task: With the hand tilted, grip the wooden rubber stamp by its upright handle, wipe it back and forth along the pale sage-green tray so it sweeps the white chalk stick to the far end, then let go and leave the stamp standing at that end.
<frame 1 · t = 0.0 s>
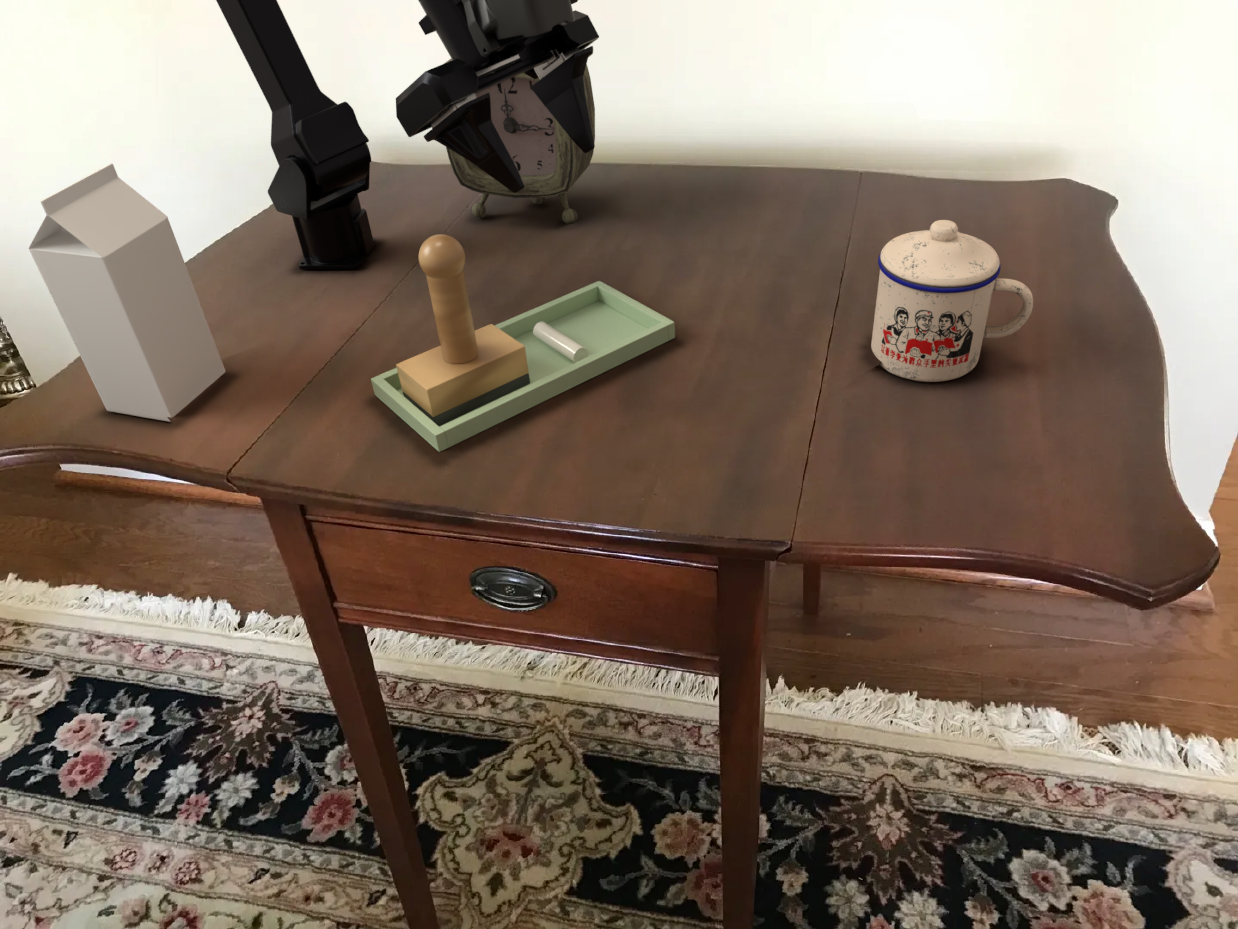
hand: (556, 169, 77), 15 cm above the table, tool tilted 35°, fingers open, 9 cm apart
milk carton: (170, 397, 82), on the table
teacup with lid: (941, 358, 80), on the table
wooden rubber stamp: (468, 392, 78), point 1 cm above the table, touching tray
chalk: (561, 349, 83), point 1 cm above the table, touching tray
tabletop clock: (533, 212, 108), on the table
tray: (529, 372, 81), on the table
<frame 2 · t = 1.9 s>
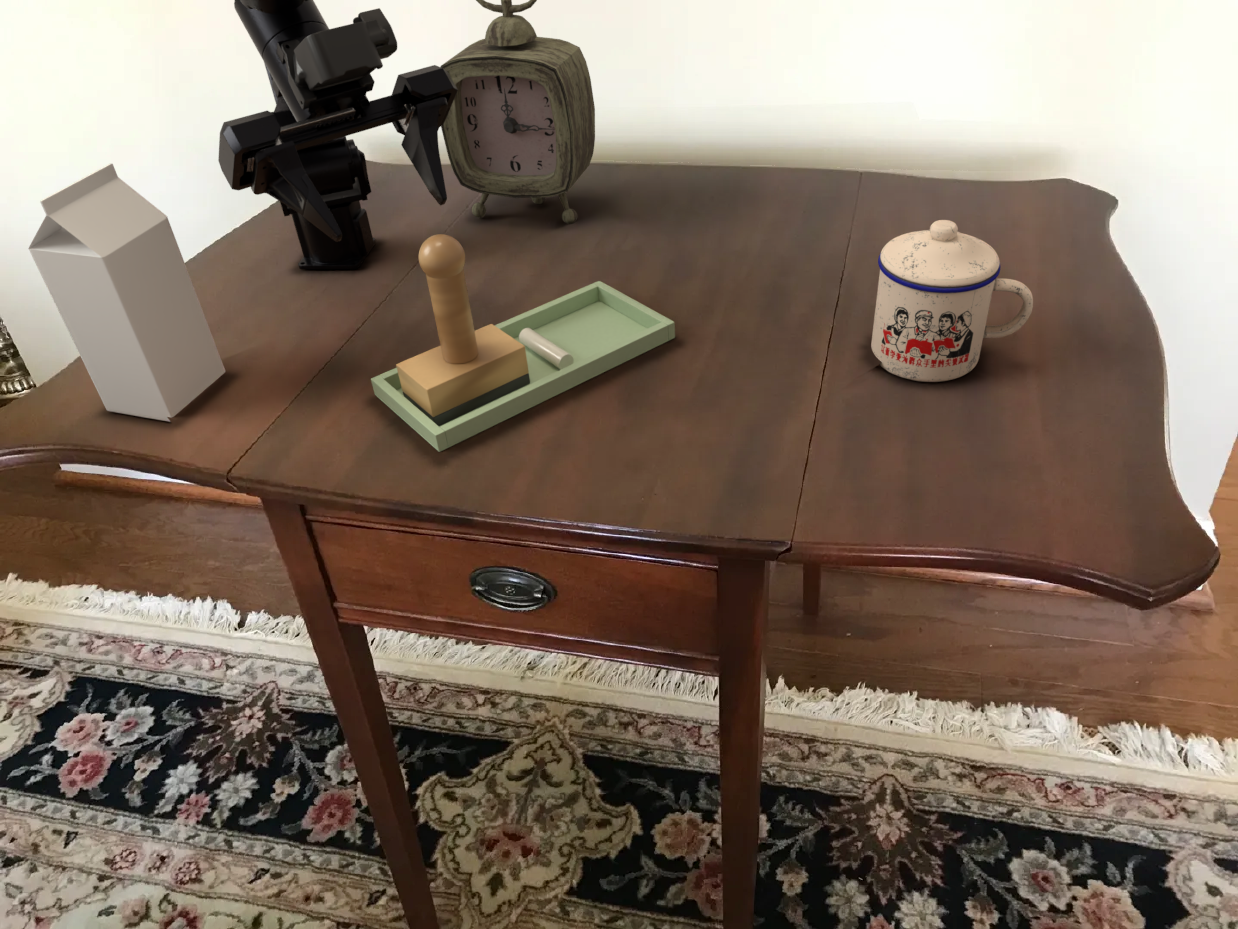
hand: (393, 220, 75), 13 cm above the table, tool tilted 45°, fingers open, 9 cm apart
chalk: (551, 342, 81), point 2 cm above the table, tilted 116°, touching tray
everything else where it was.
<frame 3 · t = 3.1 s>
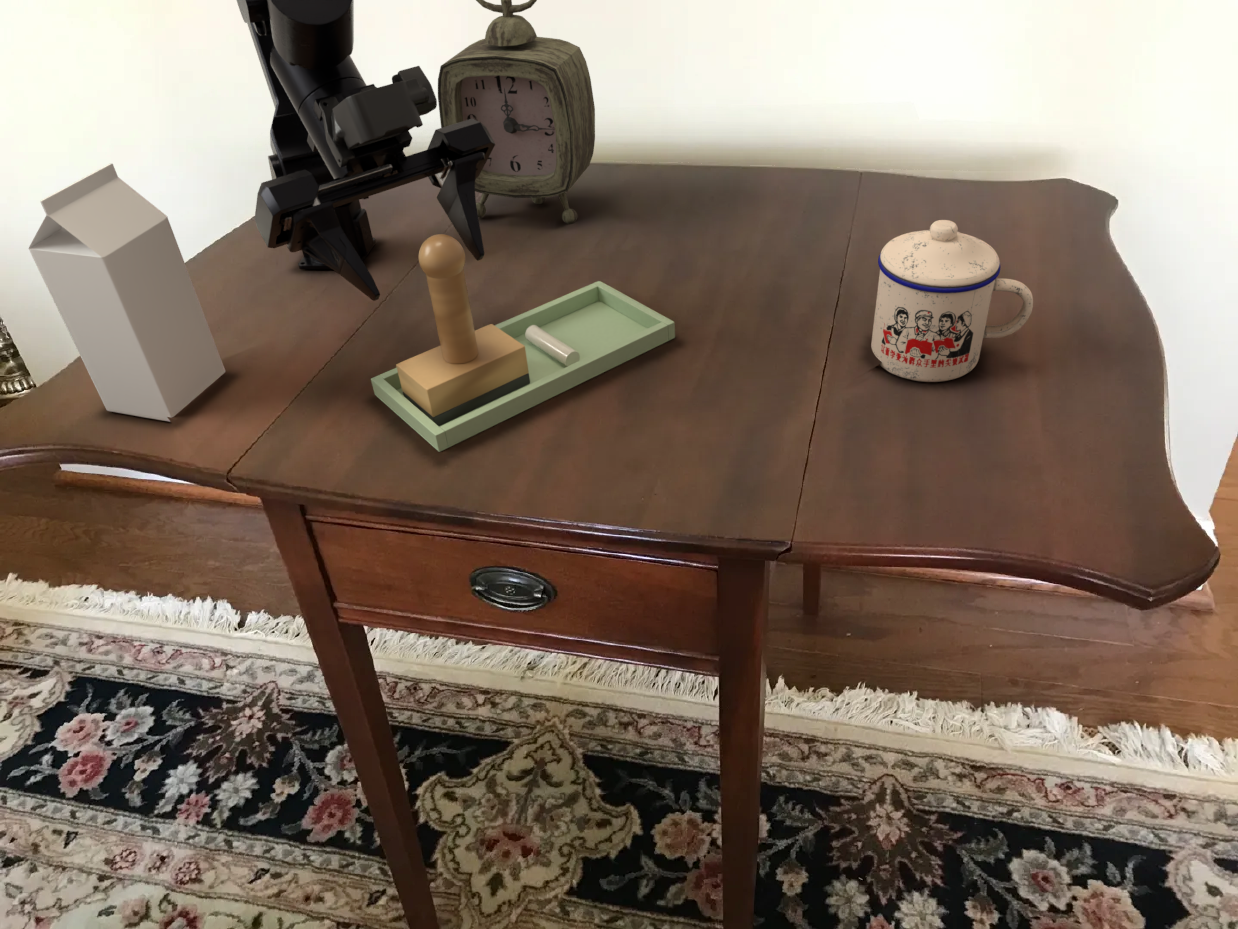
hand: (430, 277, 74), 10 cm above the table, tool tilted 45°, fingers open, 9 cm apart
chalk: (558, 345, 82), point 1 cm above the table, tilted 66°, touching tray
everything else where it was.
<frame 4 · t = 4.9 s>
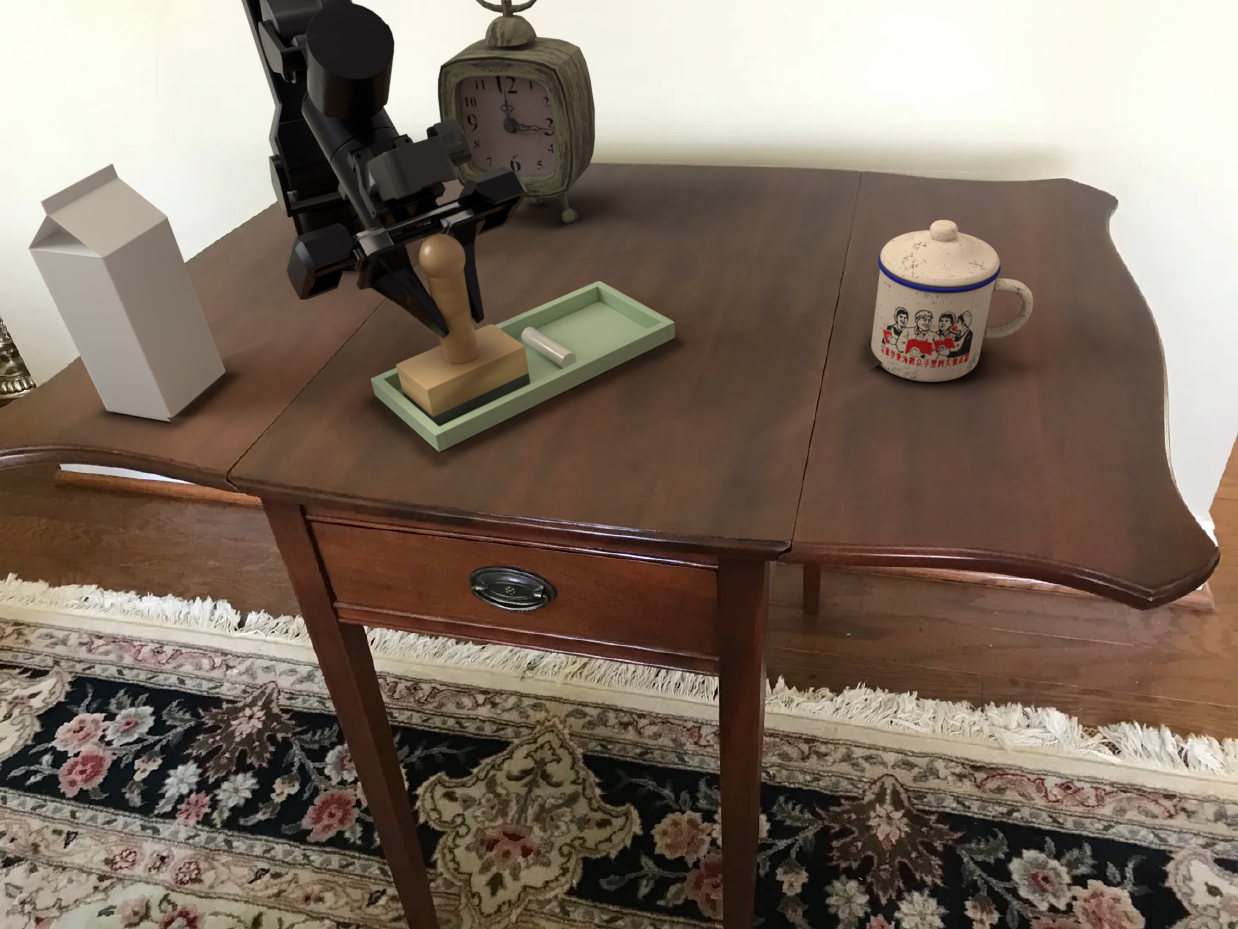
hand: (463, 328, 73), 7 cm above the table, tool tilted 45°, fingers closed on wooden rubber stamp, 3 cm apart
wooden rubber stamp: (468, 392, 78), point 1 cm above the table, touching gripper, tray
chalk: (555, 343, 82), point 2 cm above the table, tilted 96°, touching tray
everything else where it was.
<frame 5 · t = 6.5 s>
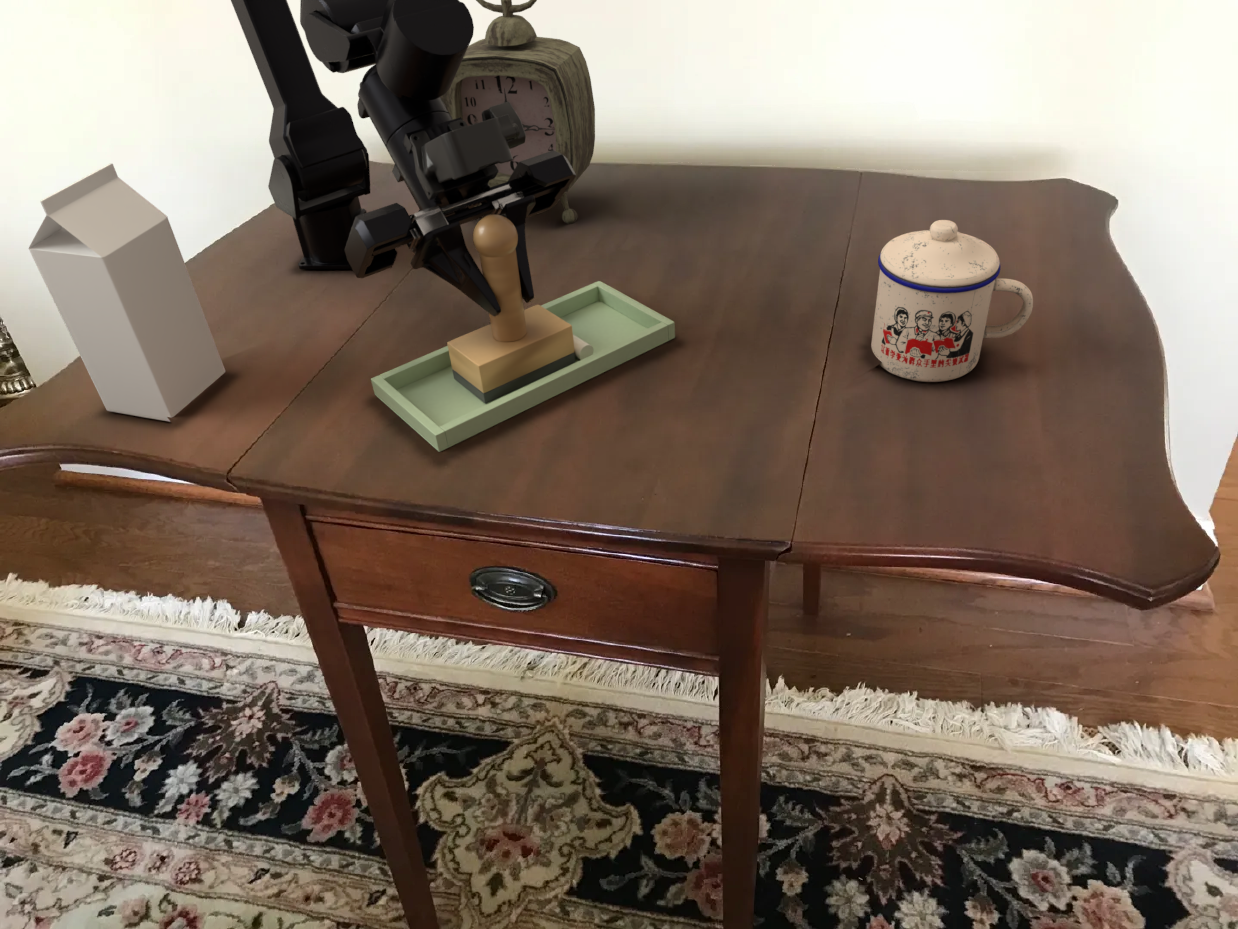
hand: (514, 307, 75), 7 cm above the table, tool tilted 45°, fingers closed on wooden rubber stamp, 3 cm apart
wooden rubber stamp: (515, 370, 80), point 1 cm above the table, touching gripper
chalk: (561, 347, 82), point 1 cm above the table, tilted 44°, touching tray
everything else where it was.
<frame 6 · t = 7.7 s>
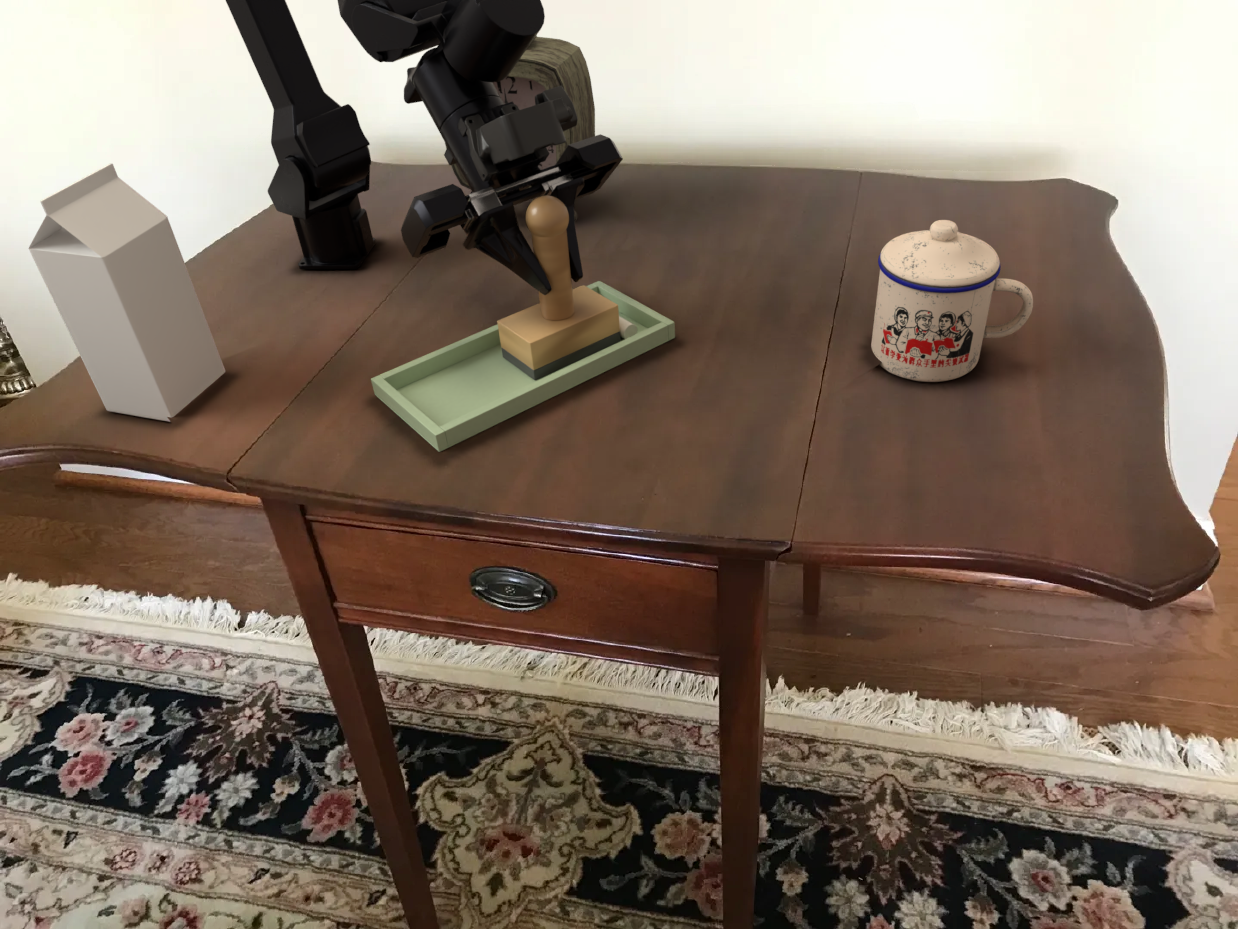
hand: (563, 286, 78), 7 cm above the table, tool tilted 45°, fingers closed on wooden rubber stamp, 3 cm apart
wooden rubber stamp: (562, 349, 83), point 1 cm above the table, touching gripper
chalk: (604, 327, 85), point 1 cm above the table, tilted 47°, touching tray
everything else where it was.
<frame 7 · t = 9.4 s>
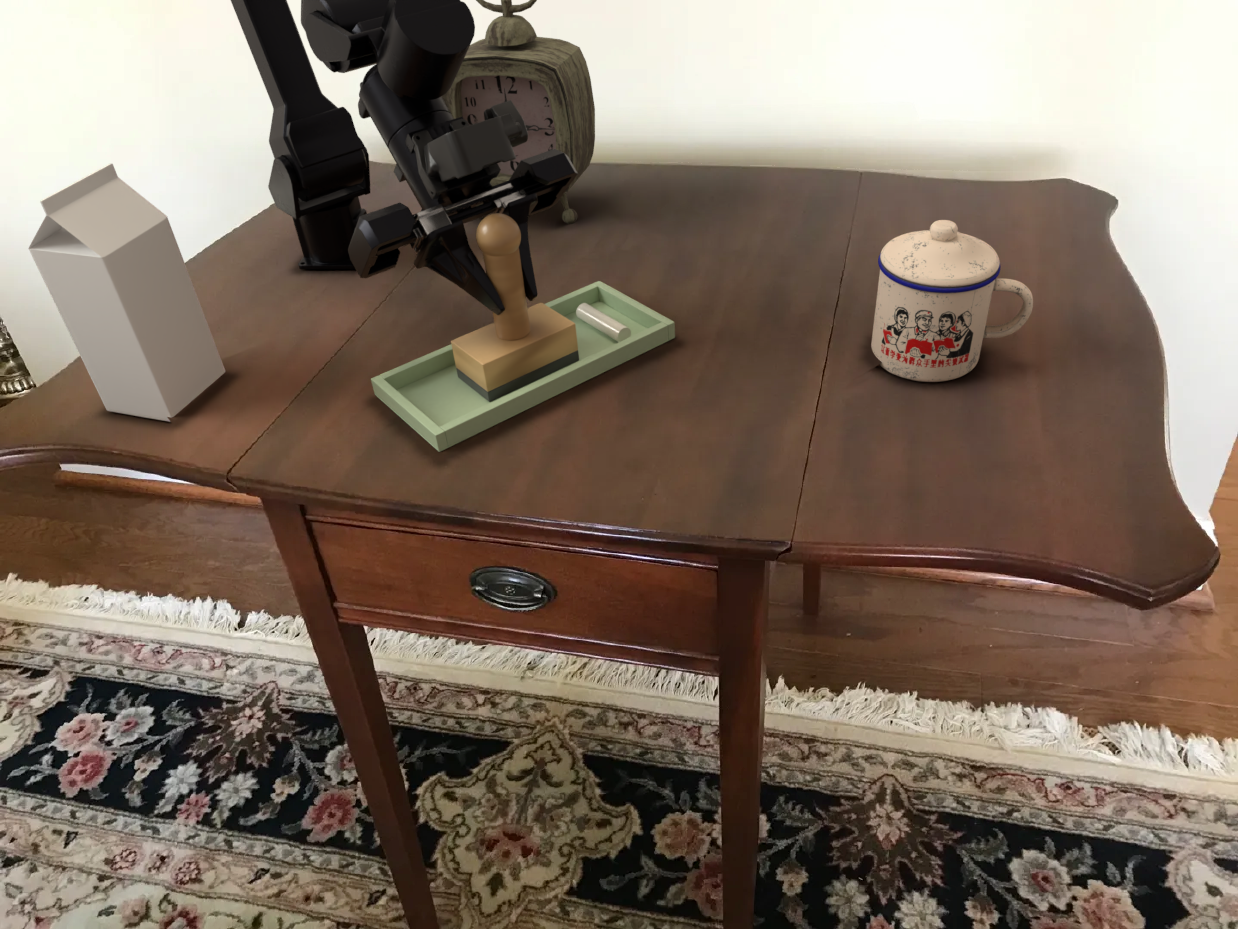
hand: (517, 305, 75), 7 cm above the table, tool tilted 45°, fingers closed on wooden rubber stamp, 3 cm apart
wooden rubber stamp: (519, 368, 80), point 1 cm above the table, touching gripper
chalk: (604, 329, 85), point 1 cm above the table, tilted 6°, touching tray
everything else where it was.
when the fingers open (7 cm above the table, at t = 13.0 s): wooden rubber stamp stays where it is, resting on chalk, tray.
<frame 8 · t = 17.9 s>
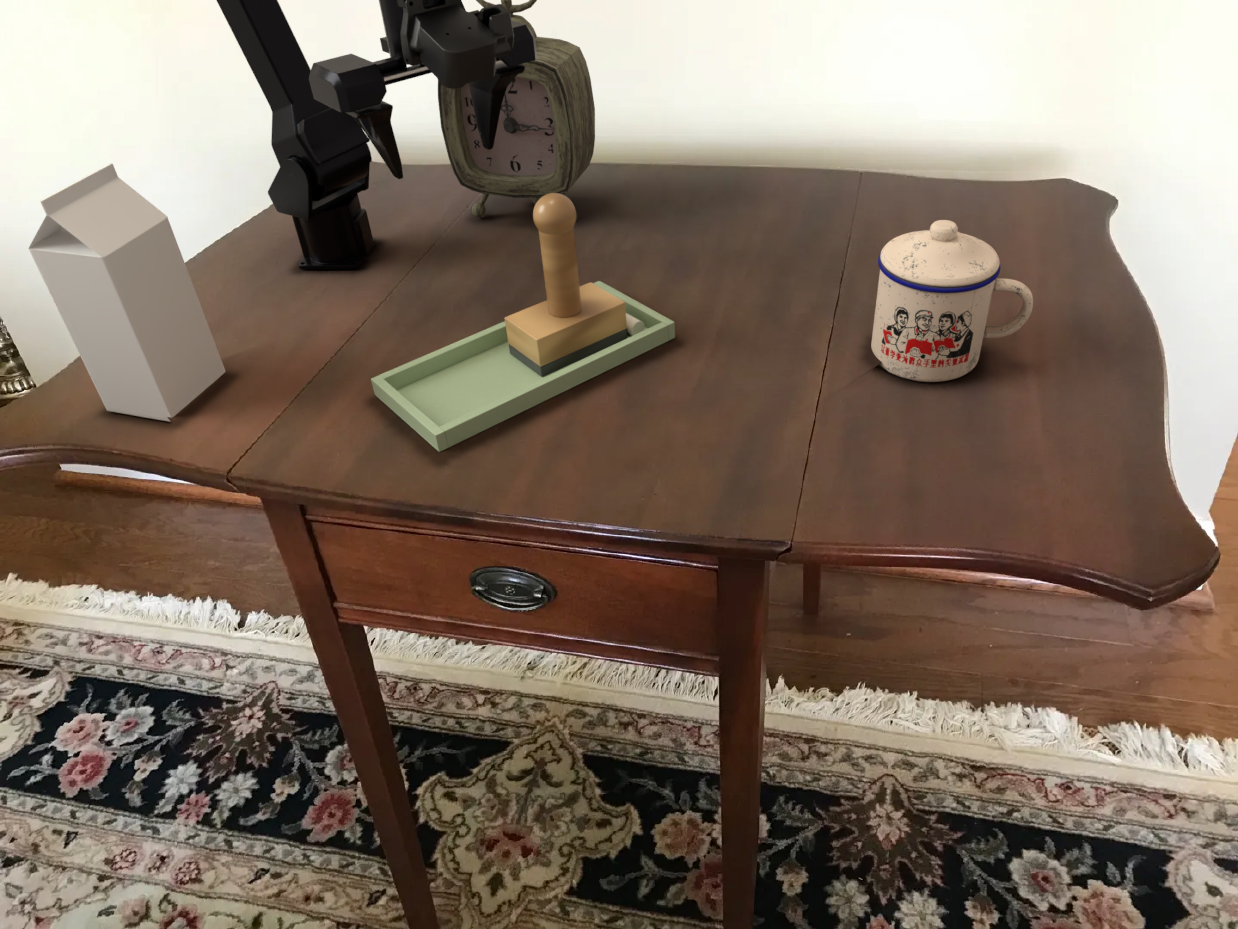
hand: (444, 162, 85), 13 cm above the table, tool pointing down, fingers open, 9 cm apart
wooden rubber stamp: (569, 346, 83), point 1 cm above the table, touching chalk, tray
chalk: (610, 317, 84), point 2 cm above the table, tilted 105°, touching wooden rubber stamp, tray
everything else where it was.
at the end: chalk 0.6 cm from the target spot in the tray, point 1.7 cm above the tray's base; wooden rubber stamp 0.4 cm from the target spot in the tray, point 0.8 cm above the tray's base; wooden rubber stamp tilted 0° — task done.
